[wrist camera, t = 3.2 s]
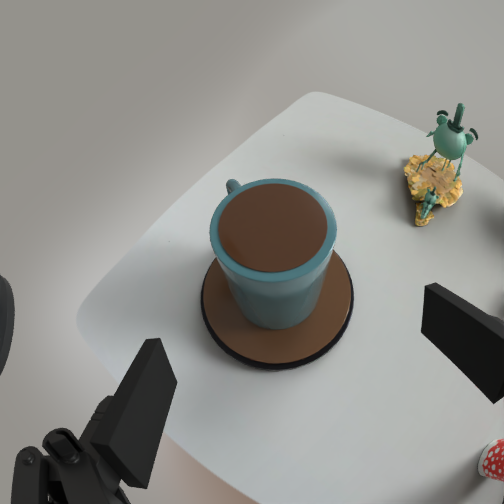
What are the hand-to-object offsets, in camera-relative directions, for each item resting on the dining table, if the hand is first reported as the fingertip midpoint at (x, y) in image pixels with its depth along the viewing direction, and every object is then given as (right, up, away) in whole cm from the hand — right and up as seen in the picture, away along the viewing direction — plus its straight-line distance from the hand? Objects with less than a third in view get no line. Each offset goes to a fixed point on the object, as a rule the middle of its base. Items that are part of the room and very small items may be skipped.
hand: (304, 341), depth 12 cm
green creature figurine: (+23, +13, +21) cm, 34 cm away
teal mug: (0, 0, +15) cm, 15 cm away
